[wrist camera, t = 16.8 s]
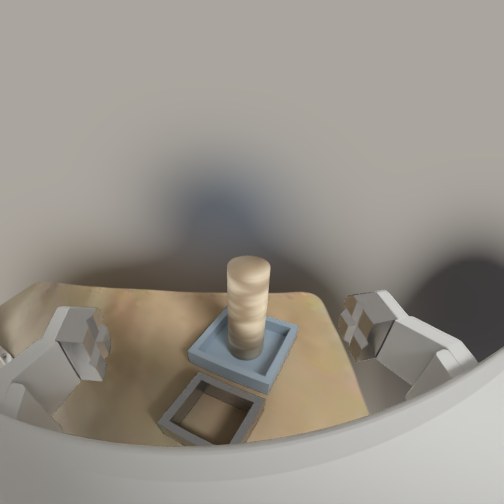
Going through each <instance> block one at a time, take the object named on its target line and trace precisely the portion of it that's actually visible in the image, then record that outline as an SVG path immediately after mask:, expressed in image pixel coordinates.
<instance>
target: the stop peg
mask: <svg viewBox="0 0 504 504" xmlns="http://www.w3.org/2000/svg"><path fill="white" fill-rule="evenodd" d="M269 277H270V264H269V263H268V262H267V261H266V260H264V259H262V258H259V257H255V256H241V257H236V258H234V259H232V260H231V261H229V263H228V265H227V290H228V291H227V293H228V341H229V352H230V353H231V355H232V356H233V357H235V358H237V359H239V360H244V361H248V360H253V359H256V358H257V357H259V356H260V355H261V353H262V351H263V342H264V332H265V322H266V311H267V300H268V288H269Z"/></svg>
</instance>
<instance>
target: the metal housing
mask: <svg viewBox="0 0 504 504" xmlns="http://www.w3.org/2000/svg"><path fill="white" fill-rule="evenodd" d="M203 393H206V394H208V395H210V396H212V397H215V398H217V399H219V400H221V401H223V402H226V403H228V404H230V405H233V406H235V407H238V408H240V409H242V410H245V411H247V412H248V414H247V415H246V417H245V419H244V421H243V422H242V424H241V426H240V427H239V429H238V430H237V432H236V434H235V435H234V437H233V439H232V440H231V442H230V443H229V444H238V443H246V441H247V440H248V438H249V436H250V434H251V433H252V431H253V429H254V427H255V426H256V424H257V422H258V420H259V418H260V416H261V415H262V413H263V411H264V406H265V399H264V398H261V397H259V396H256V395H253V394H251V393H248V392H246V391H243V390H241V389H238V388H236V387H233V386H231V385H228V384H226V383H224V382H221V381H219V380H217V379H215V378H212V377H210V376H208V375H206V374H203V373H201V372H198V373H197V374H196V376H195V377H194V378H193V379H192V381H191V382H190V383H189V384H188V385H187V387H186V388H185V389H184V390H183V392H182V393H181V394H180V395H179V397H178V398H177V399H176V400H175V401H174V403H173V404H172V405H171V406H170V407H169V409H168V410H167V411H166V412H165V414H164V415H163V416H162V417H161V418H160V420H159V421H158V422H157V424H158V425H159V427H160V429H161V431H162V432H163V433H164V434H166V435H167V436H169V437H171V438H172V439H174V440H176V441H178V442H179V443H181V444H183V445H185V446H211V445H214V444H212V443H210V442H208V441H206V440H204V439H202V438H200V437H198V436H196V435H194V434H192V433H190V432H188V431H186V430H184V429H183V428H181V427H179V426H178V425H179V424H180V423H181V422H182V420H183V419H184V418H185V416H186V415H187V414H188V413H189V411H190V410H191V409H192V407H193V406H194V405H195V403H196V402H197V401H198V399H199V398H200V397H201V395H202V394H203Z"/></svg>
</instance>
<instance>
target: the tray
mask: <svg viewBox="0 0 504 504" xmlns="http://www.w3.org/2000/svg"><path fill="white" fill-rule="evenodd" d="M298 328H299V326H298V325H295V324H291V323H288V322H285V321H282V320H278V319H275V318H272V317H269V316H266V322H265V332H264V342H263V351H262V353H261V355H260V356H259V357H257V358H256V359H253V360H248V361H244V360H239V359H237V358H235V357H233V356H232V355H231V353H230V352H229V341H228V305H227V306H226V308H225V309H224V310H223V311H222V312H221V313H220V315H219V316H218V317H217V318H216V319H215V320H214V321H213V323H212V324H211V325H210V326H209V327H208V328H207V329H206V331H205V332H204V333H203V334H202V335H201V336H200V337H199V338H198V340H197V341H196V342H195V343H194V344H193V345H192V346H191V348H190V349H189V350H188V357H189V362H190V363H192V364H195V365H197V366H199V367H201V368H203V369H205V370H208V371H210V372H212V373H214V374H217V375H219V376H221V377H224V378H226V379H228V380H231V381H233V382H236V383H238V384H241V385H243V386H246V387H248V388H251V389H253V390H256V391H259V392H261V393H264V394H267V395H268V393H269V392H270V390H271V388H272V386H273V384H274V382H275V380H276V378H277V376H278V374H279V372H280V370H281V368H282V366H283V364H284V362H285V360H286V358H287V356H288V354H289V352H290V350H291V348H292V346H293V344H294V341H295V339H296V337H297V333H298Z"/></svg>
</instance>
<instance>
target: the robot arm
mask: <svg viewBox="0 0 504 504" xmlns="http://www.w3.org/2000/svg"><path fill="white" fill-rule="evenodd" d="M344 305H345V307H346V309H345V310H344V311H343V312H342V313H341V316H340V319H339V330H340V334H341V336H342V338H343V339H344V340H345V341H347V342H349V343H350V344H349V348H348V349H349V350H350V352H351V354H352V356H353V358H354V359H355V361H356V362H359V361H363V360H368V359H372V358H376V359H377V360H378V361H379V362H381V363H382V364H383V365H385V366H386V367H387V368H389V369H390V370H392V371H393V372H394V373H396V374H397V375H398V376H400V377H401V378H403V379H404V380H405V381H406V382H408V383H409V384H410V385H412V388H411V389H410V390H409V392H408V393H407V394H406V400H407V401H405V402H402V403H400V404H397V405H395V406H392V407H390V408H387V409H385V410H382V411H379V412H376V413H374V414H371V415H368V416H365V417H362V418H359V419H355V420H352V421H349V422H346V423H342V424H339V425H335V426H331V427H328V428H324V429H320V430H315V431H311V432H307V433H302V434H297V435H292V436H287V437H282V438H276V439H269V440H263V441H255V442H247V443H238V444H226V445H211V446H152V445H137V444H126V443H117V442H109V441H102V440H96V439H90V438H84V437H79V436H74V435H70V434H65V433H62V428H61V426H60V425H59V424H58V423H57V422H56V421H55V420H54V419H53V418H52V415H53V414H54V413H55V412H56V410H57V409H58V408H59V407H60V405H61V404H62V403H63V402H64V401H65V399H66V398H67V397H68V396H69V395H70V393H71V392H72V391H73V390H74V389H75V387H76V386H77V385H78V384H79V383H80V382H81V380H90V381H103V379H104V374H105V370H106V366H107V365H106V363H105V361H104V359H105V358H106V357H107V356H108V355H109V353H110V348H111V339H110V334H109V331H108V328H107V327H106V326H105V325H104V324H103V323H102V321H103V318H104V317H103V315H102V312H101V310H100V309H99V308H91V307H68V306H60V307H58V308H57V309H56V311H55V313H54V315H53V317H52V319H51V321H50V323H49V325H48V327H47V329H46V331H45V333H44V335H43V337H42V340H39V339H38V340H37V341H35V342H34V343H33V344H31V345H30V346H29V347H27V348H26V349H25V350H24V351H22V352H21V353H20V354H18V355H17V356H16V357H15V358H13V357H12V356H11V355H10V354H9V353H8V352H7V351H6V350H4V349H3V348H2V347H1V346H0V504H504V347H503V348H501V349H500V350H498V351H497V352H495V353H494V354H492V355H491V356H489V357H488V358H486V359H485V360H483V361H482V362H480V363H478V362H477V361H476V359H475V358H474V357H473V356H472V354H471V353H470V352H469V350H468V349H467V348H466V347H465V345H464V344H463V343H462V342H461V341H460V340H458V339H456V338H454V337H452V336H450V335H448V334H446V333H444V332H442V331H440V330H438V329H436V328H434V327H432V326H430V325H428V324H426V323H424V322H422V321H420V320H418V319H416V318H414V317H412V316H411V317H409V316H408V315H407V314H406V313H405V311H404V310H403V309H402V308H401V307H400V305H399V304H398V303H397V302H396V301H395V300H394V298H393V297H392V296H391V295H390V294H389V293H388V291H386V290H379V291H373V292H368V293H360V294H352V295H348V296H347V298H346V300H345V303H344Z"/></svg>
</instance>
